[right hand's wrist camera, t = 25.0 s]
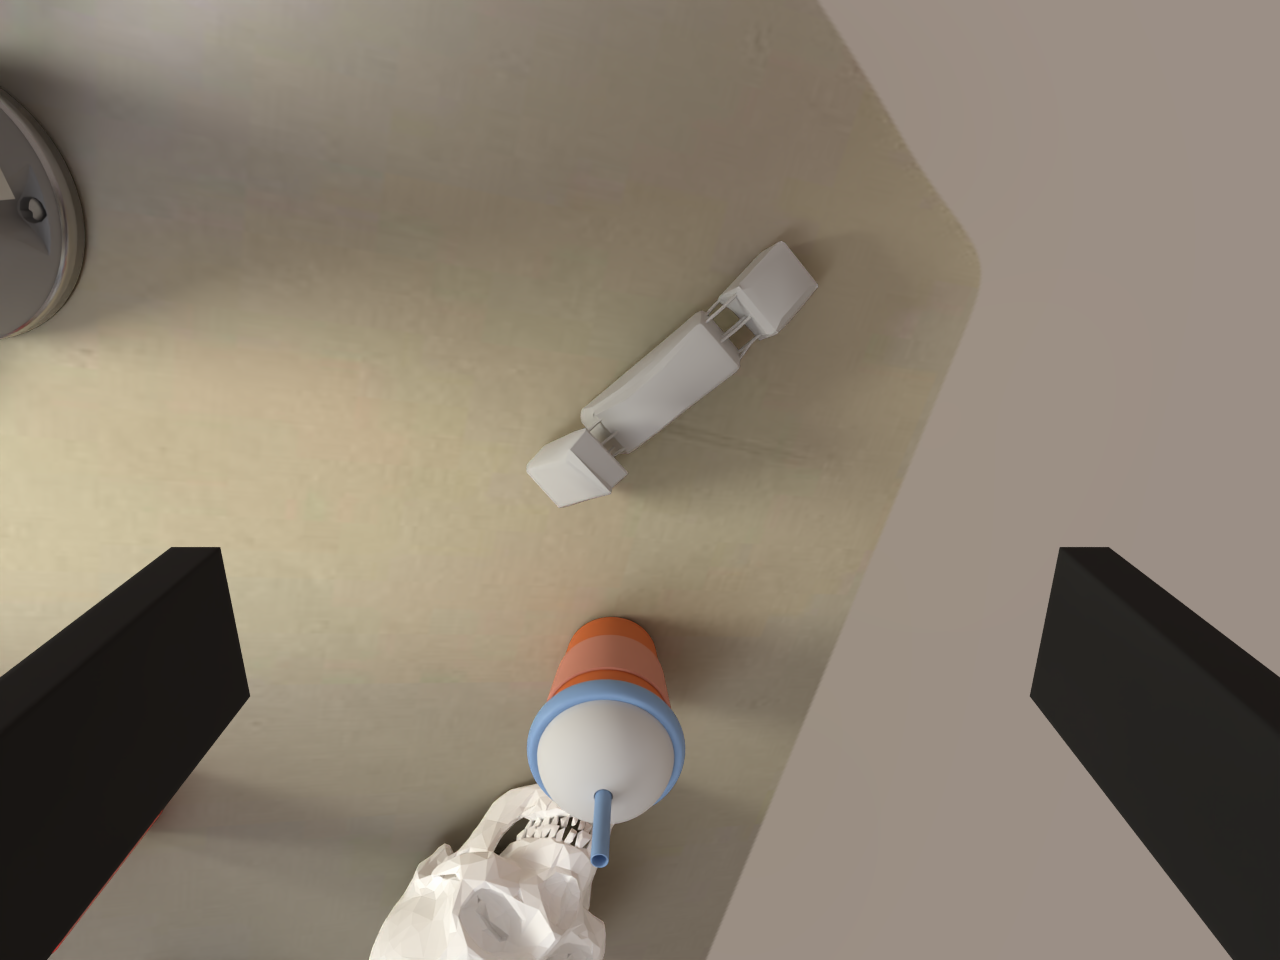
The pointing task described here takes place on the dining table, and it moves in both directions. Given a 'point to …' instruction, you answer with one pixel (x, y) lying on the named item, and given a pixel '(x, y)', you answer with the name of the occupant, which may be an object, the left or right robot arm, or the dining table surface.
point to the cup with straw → (607, 730)
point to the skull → (501, 893)
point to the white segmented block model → (670, 379)
